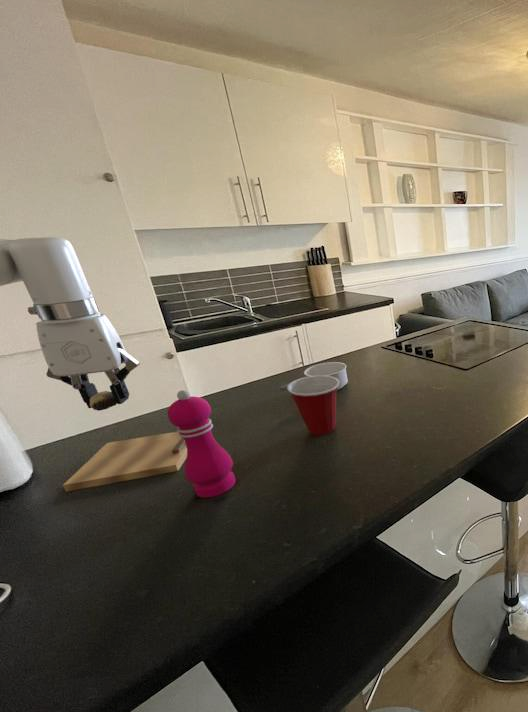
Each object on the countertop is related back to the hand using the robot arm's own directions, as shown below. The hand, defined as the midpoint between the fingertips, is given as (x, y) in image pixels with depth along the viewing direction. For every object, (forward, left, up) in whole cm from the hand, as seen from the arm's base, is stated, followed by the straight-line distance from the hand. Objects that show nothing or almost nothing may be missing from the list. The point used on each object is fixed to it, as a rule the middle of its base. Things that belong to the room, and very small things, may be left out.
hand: (109, 402), depth 79 cm
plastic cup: (+37, +1, -14) cm, 39 cm away
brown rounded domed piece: (0, 0, -1) cm, 1 cm away
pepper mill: (+19, -15, -14) cm, 28 cm away
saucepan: (+34, +25, -14) cm, 44 cm away
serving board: (+1, +2, -14) cm, 14 cm away
